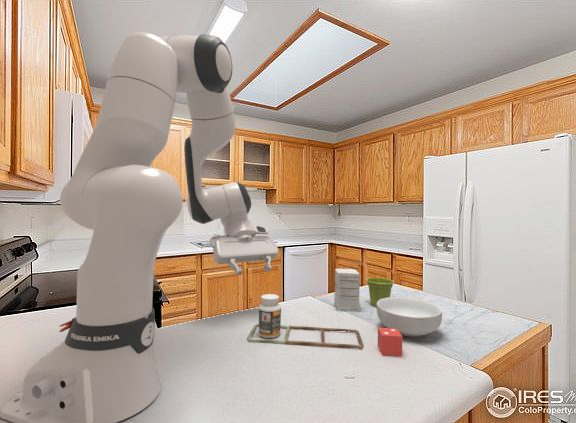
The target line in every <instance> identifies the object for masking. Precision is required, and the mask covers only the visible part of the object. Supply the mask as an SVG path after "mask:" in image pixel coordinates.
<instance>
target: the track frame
mask: <svg viewBox="0 0 576 423" xmlns="http://www.w3.org/2000/svg"><path fill="white" fill-rule="evenodd" d="M257 328H259V323H255V324H254V325H253V327H251V329H250V332H249V334H248V335H247V338H246V340H247V342H249V343H250V342H251V343H265V344H277V345H279V344H280V345H293V346H294V345H295V346H306V347H307V346H309V347H321V348H323V347H325V348H337V349H350V348H356V349H355V350H363V348H362V347H364V346H365V345H364V343H363V340H362V338H361V334H360V331H359V330H357V329H351V328H350V329H348V328H347V329H346V328H333V327H332V328H331V327H320V326H319V327H317V326H304V325H303V326H299V325H286V324H281V326H280V329H281V328H283V329H284V330H285V335H284V338H283V339H274V338H259V337H257V338H256V337H253V336H254V334H255V332H256V330H257ZM298 329H303V330H302V331H314V330H321V331H320V339H321V342H320V341H319V342H318V341H302V340H301V341H300V340H288V339H289V337H290V332H291V330H298ZM330 331H346V332H348V331H349V332H356V333H355V336H356V335H357V336H356V339H357V338H358V339H357V342H358V344H347V343H334V342H333V343H332V342H325V340H326V339H325V332H330ZM346 332H345V333H346ZM357 348H358V349H357Z"/></svg>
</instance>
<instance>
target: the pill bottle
mask: <svg viewBox="0 0 576 423" xmlns="http://www.w3.org/2000/svg"><path fill="white" fill-rule="evenodd" d="M279 301H280V296H279V295H277V294H274V293H273V294H272V293H267V294H262V295H261V296H260V302H261V304H260V305H259V306H258V324H259V327H258V336H259V337H261V338H263V339H274V338H277V337H279V336H280V335H281V328H280V326H281V325H282V324H281V320H282V319H281V318H282V317H281V316H282V308H281V307H282V306H281V305H280V303H279Z"/></svg>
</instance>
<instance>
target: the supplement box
mask: <svg viewBox="0 0 576 423" xmlns="http://www.w3.org/2000/svg"><path fill="white" fill-rule="evenodd" d="M334 273H335V274H334V305H335V306H336V311H338V310H340V311H339V312H360V287H361V286H360V285H361V284H360V283H361V282H360V279H361V278H360V277H361V276H360V275H361V273H360V272H358V270H357V269H354V268H335V269H334Z"/></svg>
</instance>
